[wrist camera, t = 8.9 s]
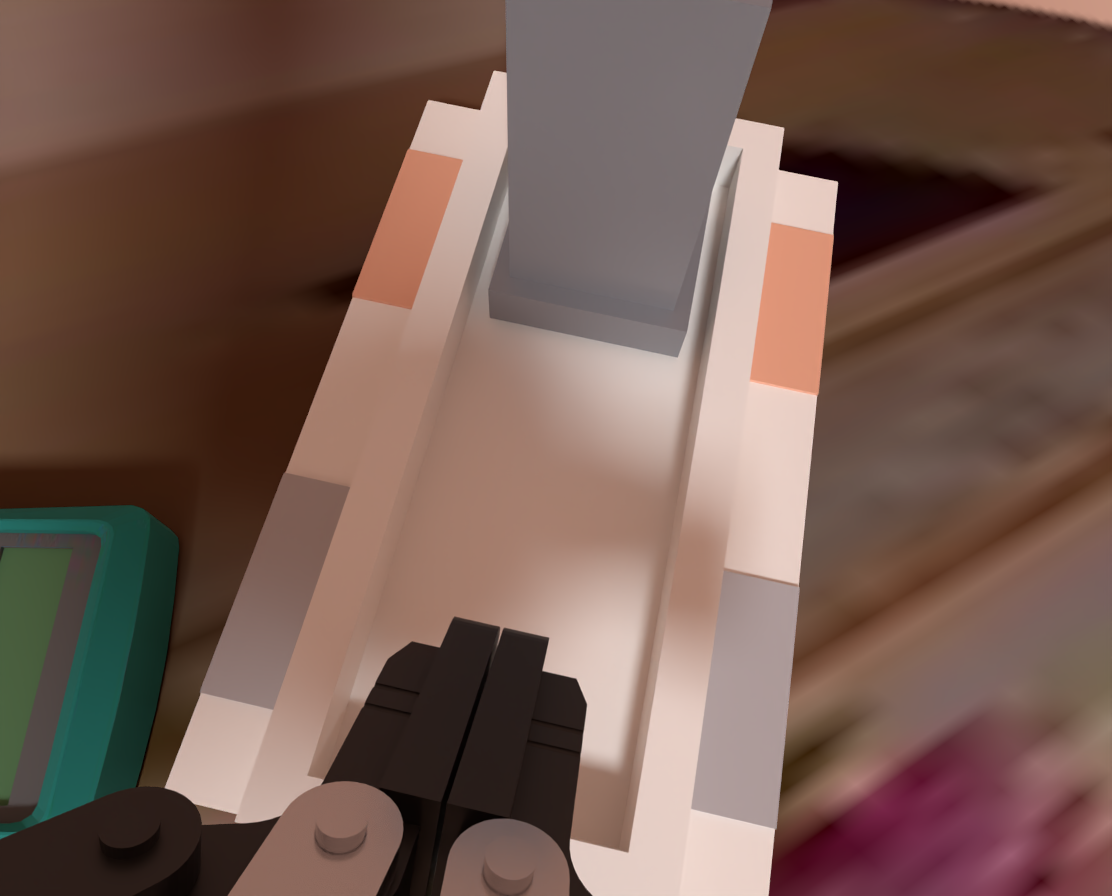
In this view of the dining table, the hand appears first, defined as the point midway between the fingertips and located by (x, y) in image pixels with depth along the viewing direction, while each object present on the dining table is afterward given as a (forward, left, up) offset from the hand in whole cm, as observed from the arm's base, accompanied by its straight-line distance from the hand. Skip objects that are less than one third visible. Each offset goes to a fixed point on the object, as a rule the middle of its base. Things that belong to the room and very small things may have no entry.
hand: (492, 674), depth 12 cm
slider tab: (0, +11, -5) cm, 12 cm away
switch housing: (0, +6, -7) cm, 9 cm away
